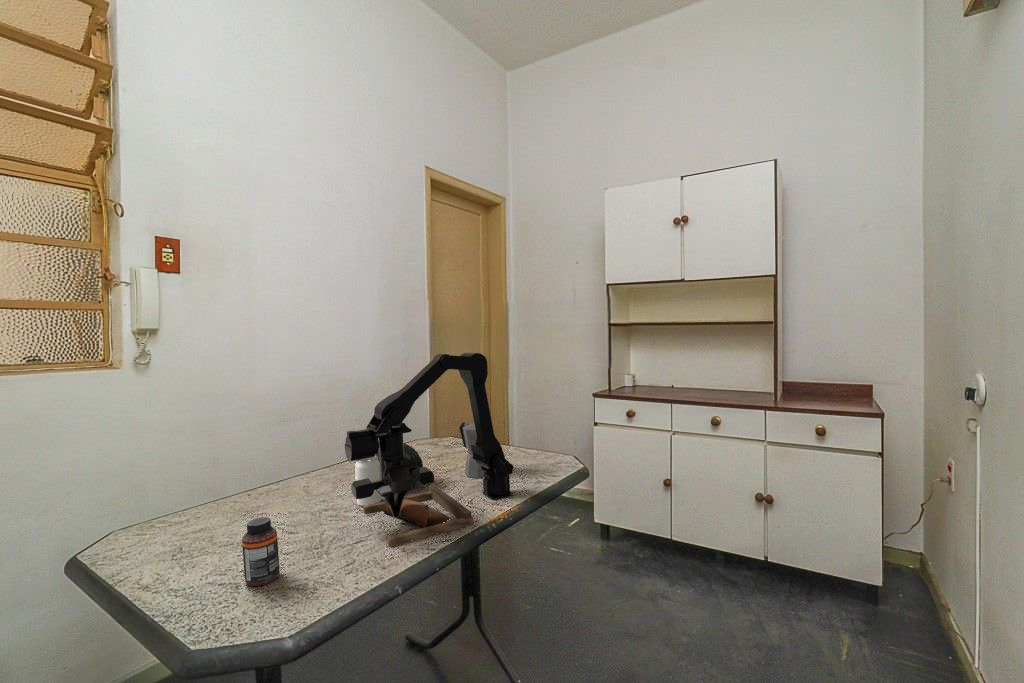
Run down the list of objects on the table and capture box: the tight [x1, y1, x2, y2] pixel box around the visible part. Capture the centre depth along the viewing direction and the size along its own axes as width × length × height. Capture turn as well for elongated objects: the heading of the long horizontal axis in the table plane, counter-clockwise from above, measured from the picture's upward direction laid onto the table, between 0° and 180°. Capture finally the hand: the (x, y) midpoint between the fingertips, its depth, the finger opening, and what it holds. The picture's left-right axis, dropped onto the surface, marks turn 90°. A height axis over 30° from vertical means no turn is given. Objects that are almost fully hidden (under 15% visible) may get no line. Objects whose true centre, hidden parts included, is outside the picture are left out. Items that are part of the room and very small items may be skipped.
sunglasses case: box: [382, 499, 451, 528], centre depth 117 cm, size 18×7×7 cm
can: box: [354, 456, 383, 507], centre depth 129 cm, size 6×6×12 cm
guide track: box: [362, 484, 475, 548], centre depth 117 cm, size 20×24×3 cm
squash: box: [375, 443, 424, 486], centre depth 141 cm, size 14×15×15 cm
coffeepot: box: [459, 421, 486, 479], centre depth 151 cm, size 15×9×18 cm, turn 44°
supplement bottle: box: [241, 516, 281, 587], centre depth 90 cm, size 6×6×11 cm
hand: (395, 517), depth 114 cm, fingers closed
